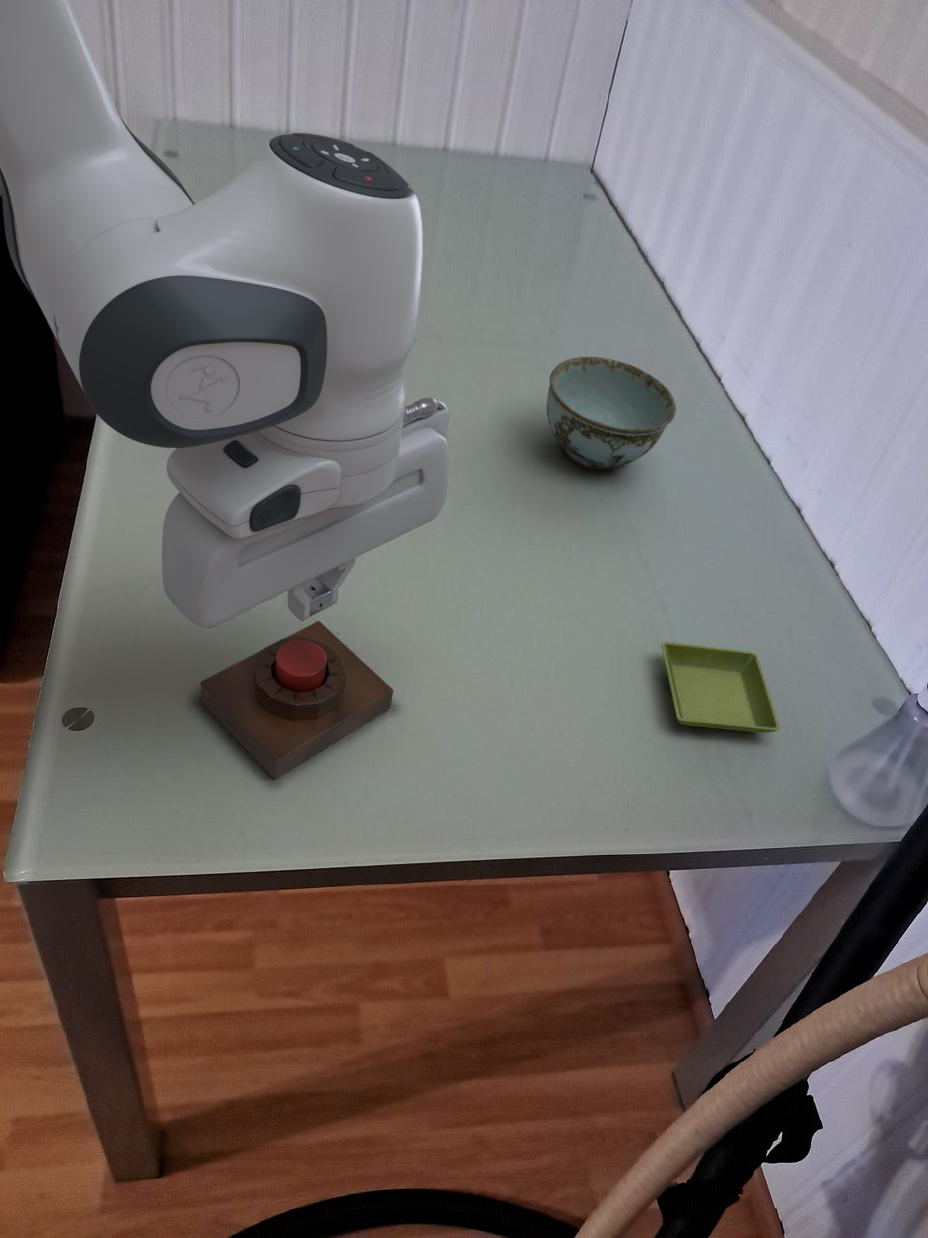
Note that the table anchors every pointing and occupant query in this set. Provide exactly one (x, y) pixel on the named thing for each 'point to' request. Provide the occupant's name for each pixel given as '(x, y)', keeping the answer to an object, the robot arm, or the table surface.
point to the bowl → (606, 411)
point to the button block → (295, 702)
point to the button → (300, 665)
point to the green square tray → (718, 688)
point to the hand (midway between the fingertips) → (312, 607)
